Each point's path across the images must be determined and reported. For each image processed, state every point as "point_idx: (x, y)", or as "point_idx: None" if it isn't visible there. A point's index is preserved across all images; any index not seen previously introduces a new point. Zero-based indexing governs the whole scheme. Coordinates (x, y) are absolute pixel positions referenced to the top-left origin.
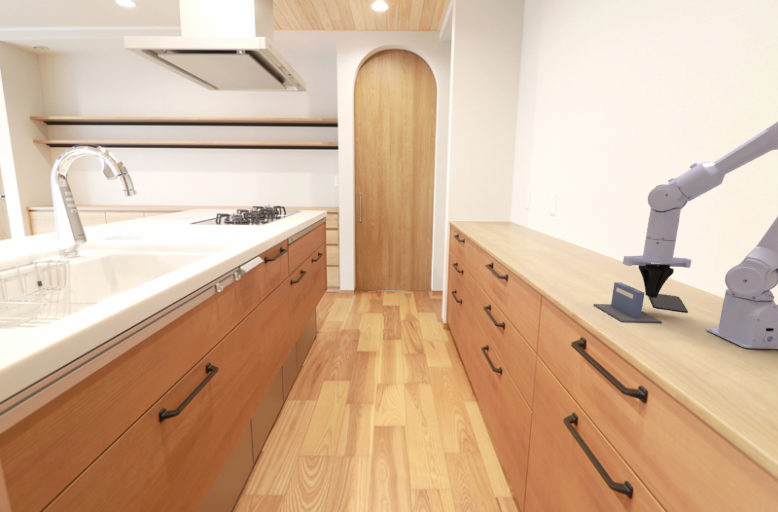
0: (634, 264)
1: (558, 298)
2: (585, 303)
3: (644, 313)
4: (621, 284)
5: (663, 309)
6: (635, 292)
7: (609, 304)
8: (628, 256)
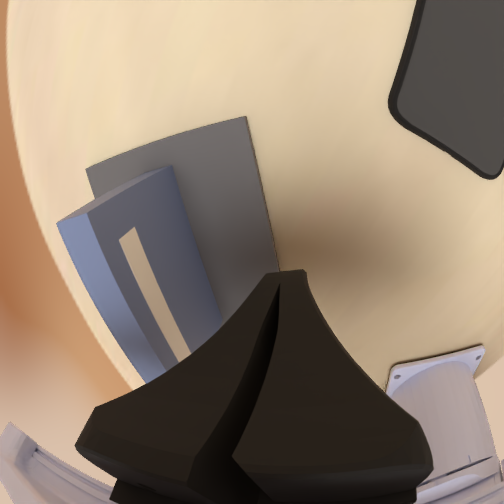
0: (67, 471)
1: (15, 124)
2: (70, 147)
3: (267, 258)
4: (90, 276)
5: (422, 137)
6: None
7: (141, 149)
8: (2, 478)
